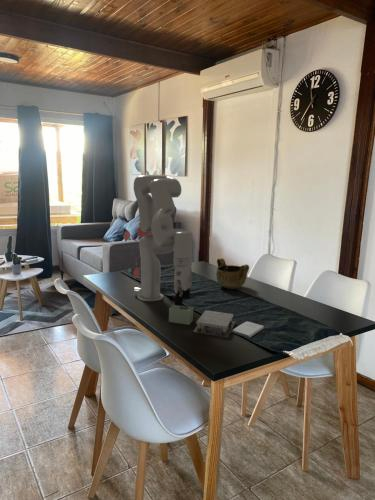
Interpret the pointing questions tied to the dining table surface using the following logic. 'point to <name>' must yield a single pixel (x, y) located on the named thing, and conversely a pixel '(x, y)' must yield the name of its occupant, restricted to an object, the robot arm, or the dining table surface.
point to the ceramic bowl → (231, 274)
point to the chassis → (215, 324)
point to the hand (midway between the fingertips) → (182, 301)
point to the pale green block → (181, 314)
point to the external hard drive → (247, 329)
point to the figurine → (140, 233)
